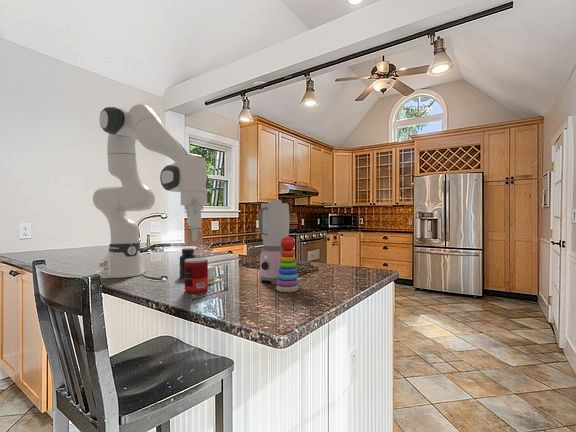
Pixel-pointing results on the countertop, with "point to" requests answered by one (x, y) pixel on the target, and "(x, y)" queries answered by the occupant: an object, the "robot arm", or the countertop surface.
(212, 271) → the block
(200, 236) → the block
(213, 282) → the build plate
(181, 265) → the supplement bottle
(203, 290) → the canned food
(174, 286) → the countertop surface
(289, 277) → the stacking toy
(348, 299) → the countertop surface
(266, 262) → the blender
